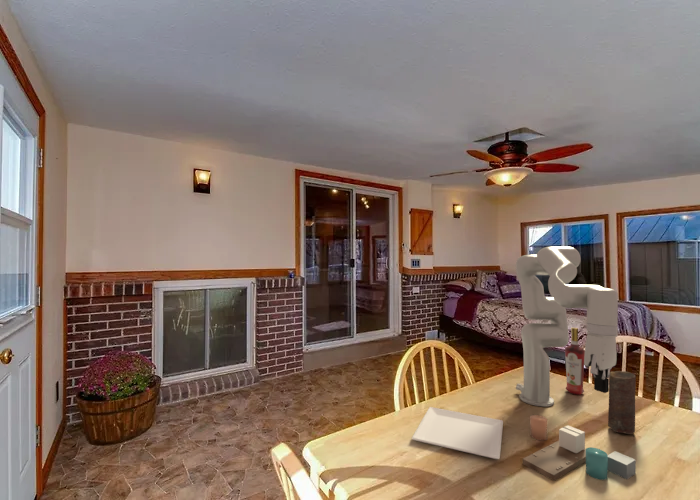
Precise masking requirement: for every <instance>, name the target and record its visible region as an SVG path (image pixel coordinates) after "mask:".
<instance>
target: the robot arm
mask: <svg viewBox="0 0 700 500" xmlns="http://www.w3.org/2000/svg"><path fill="white" fill-rule="evenodd" d="M581 262H582V261H581V254H580V252H579V251H578V250H577V249H576V248H574V247H572V246H546V247H543V248H541V249H540V250H539V251H537V253H536V254H525V255H521V256H519V257H518V258H517V260H516V261H515V273H516V277H517V279H518V282H519V285H520V290H521V291H520V293H521V300H522V301H521V302H522V303H521V304H522V312H523V315H524V318H526V319H528V320H534V321H550V323H545V322H538V323H537V322H536V323H535V322H531V323H527V324H524V325H523V326H522V328H521V331H520V337H521V343H522V348H523V350H522V351H523V384H521V383H516V385H515V389H516V390H517V391H520V394H519V399H520V401H522V402H524V403H525V404H529V405H532V406H536V407H545V408H546V407H551V406H553V405H554V404H555V400H554V398H553V397H551V396H550V394H551V393H550V391H551V388H550V387H551V386H550V383H551V382H550V381H551V379H550V377H551V376H550V374H551V372H550V369H551V368H550V365H551V363H550V357H549V355H548V354H547V353H546V351H545V350H544V348H563V347H567V346H568V344H569V339H570V333H569V327H568V326H569V325H568V316H567V309H586V333H587V334H586V340H585V343H584V350H585V356H584V367H586V368H589V367H590V374H593V378H594V379H593V380H594V381H593V382H594V383H593V386H594V387H593V390H595V391H597V392H601V393H604V394H606V393H609V375H610V372H611V370H612V368H613V367H615V366H616V365H617V356H618V354H617V353H618V352H617V351H618V350H617V337H618V333H619V332H618V331H619V330H618V324H619V323H618V319H619V317H618V316H619V315H618V313H619V312H618V309H619V308H618V307H619V301H618V300H619V294H618V291H616V290H615V289H613V288H611V287H610V288H608V287H603V286H601V285H599V284H569V283H571V282H572V281H573V280H575V278H576V276H577V274H578V267H579V265H580V264H581ZM537 276H549V278H548V281H547V286H548V287H547V288H548V291H549V294H550V296H546V295H545V291H544V284H543V283H542V282H541V280H540V279H539V278H538V277H537Z"/></svg>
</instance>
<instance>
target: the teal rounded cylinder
mask: <svg viewBox="0 0 700 500" xmlns="http://www.w3.org/2000/svg"><path fill="white" fill-rule="evenodd" d="M585 449H586V462H585V473H586V474H587V475H588V476H589V477H591V478H592V479H595V480H600V481H606V480H608V477H609V475H608V474H609V473H608V472H609V471H608V455H609V454H608V453H607V452H606V451H604V450H603V449H600V448H598V447H585Z"/></svg>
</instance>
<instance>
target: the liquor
mask: <svg viewBox="0 0 700 500" xmlns="http://www.w3.org/2000/svg"><path fill="white" fill-rule="evenodd" d="M570 332H571V333H570V334H571V338H570V345H566V346H565V348H564V355H565V357H564V358H565V359H564V360H565V369H566V370H565V371H566V387H565V389H566V391H567V392H568V393H570V394H572V395H577V396H581V395H582V394H584V393H585V390H584V373H585V371H584V370H585V369H584V368H585V365H584V356H585V348H583V347H581V346H580V345H579V344H580V343H579V336H578V335H579V328H578V327H570Z"/></svg>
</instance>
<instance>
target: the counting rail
mask: <svg viewBox="0 0 700 500" xmlns="http://www.w3.org/2000/svg"><path fill="white" fill-rule="evenodd" d="M584 463H586V448H585V449H583V450H582V451H580V452H578V453H574V452H572V451H570V450H567V449H565V448H563V447H561V446H559V440H557V441H555V442H553V443H551V444H549V445H547V446H545V447H543V448H541V449H539V450H537V451H535V452H534V453H530V454H529V455H527V456H525V457H523V458H522V465H524V466H526V467H528V468H529V469H531V470H532V471H535V472H537V473H539V474H540V475H542V476H544V477H546V478H548V479H550V480H552V481H554V482H555V481H557V480H558V479H559V478H562V477H563V476H564V475H567V474H568V473H570V472H571V471H573V470H574V469H576V468H577V467H579V466H581V465H583V464H584Z"/></svg>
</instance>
